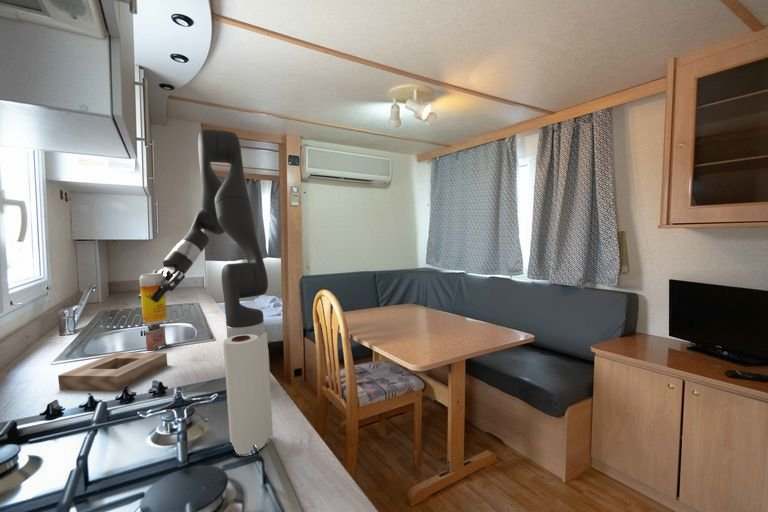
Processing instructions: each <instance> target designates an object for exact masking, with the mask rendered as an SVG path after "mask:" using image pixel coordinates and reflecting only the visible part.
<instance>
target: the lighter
mask: <svg viewBox="0 0 768 512" xmlns="http://www.w3.org/2000/svg"><path fill="white" fill-rule="evenodd" d="M163 323H164V322H163ZM163 323H159V324H152V325H147V329H145V330H144V334H145V345H146V349H145V351H153V350H156V349H158V348H159V347H158V346H163V345H167V341H166V325H162V324H163ZM158 350H159V349H158ZM156 351H157V350H156ZM153 352H154V351H153Z"/></svg>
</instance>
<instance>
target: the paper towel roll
mask: <svg viewBox="0 0 768 512" xmlns="http://www.w3.org/2000/svg"><path fill="white" fill-rule="evenodd" d="M222 342H223V343H222V345H223V356H224V369H225V370H224V371H225V386H226V401H227V416H228V431H229V432H228V433H229V443H230V442H231V443H232V445H233V447H234V450H235V452H236V453H237V454H239V455H240V454H241V455H242V454H243V455H244V454H247V453H250V452H251V450H252V447H253V445H254V444H255V445H256V446H257V447H260V446H261V445H262V444H263V443H264V442H265V441H266V440H267V439H268V438H269V439H271V437H272V436H274V433H273V432H274V431H273V429H274V428H273V414H272V397H271V395H272V394H271V376H270V377H269V367H270V360H269V361H268V350H269V347H268V332H264V334H262V335H261V336H260V337H259V338H258V336H257V335H252V334H244V335H237V336H233V337H230V338H227V337H226V339H224V340H223V341H222Z"/></svg>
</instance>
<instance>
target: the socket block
mask: <svg viewBox="0 0 768 512" xmlns="http://www.w3.org/2000/svg"><path fill="white" fill-rule="evenodd" d="M167 366H168V356H167V352H114V353H111V354H108V355H106V356H104V357H101V358H99V359H96V360H94V361H91V362H89V363H87V364H84V365H81V366H78V367H76V368H74V369H71V370H68V371H67V372H63V373H61V374H58V375H57V377H58V379H57V381H58V388H59V389H66V390H65V391H69V390H70V391H106V392H107V391H109V392H110V391H112V392H118V391H119V392H120V391H121V390H123V389H125V388H124V386H126V385H127V387H129V386H131V385H133V384H134V383H137V382H138V381H140V380H142V379H145V378H146V377H148V376H150V375H152V374H154V373H155V372H157V371H159V370H161V369H164V368H165V367H167Z"/></svg>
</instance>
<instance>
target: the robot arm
mask: <svg viewBox="0 0 768 512" xmlns="http://www.w3.org/2000/svg"><path fill="white" fill-rule="evenodd" d="M197 143H198V144H197V148H198V159H199V160H198V162H199V170H200V171H199V172H200V180H201V181H200V182H201V204H200V205H201V208H202V209H200V210H199V211H198V212H196V214H195V217H194V219H193V222H192V224H191V227H190V229H189V230H188V232H187V233H186V234H185V236H183V238H182V239H181V240H180V241H179V242H178V243H177V244H176V245H175V246H174V247H173V248H172V249H171V251H170V252H169V253H168V254H167V256H165V258H164V259H163V260H162V265H163V267H162V268H161V269H160V270H159V271H157V270H156V269H154V270H153V271H152V272H151V273H162V275H163V279H162V284H161V285H160V288H158V290H157V291H156V292H155V293H154V294H153V296H152V297H151V300H153V301H154V302H158V301H159V300H160V299H161V298H162V296H163V295H164V294H165V295H166V293H169V291H170V292H172V291H174V290H175V289H176V288H177V286H179V284H180V283H181V282H182V281H183V280H184V279H185V277H186V274H187V272H189V269H190V268H191V267H193V265H194V263H195V262H196V261H197V260H198V258H199V256H200V254H202V252H203V251H204V250H205V248H206V247H207V245H208V244H209V243H210V237H209V236H208V235H207V234H206V233H205V232H204V231H202V230H205V231H207V232H209V233H212V234H213V235H216V236H218V235H219V236H220V235H222V234H225V233H226V234H227V235H228V236H229V237H230V238H231V239H232V240H233V242H235V243H236V244H237V245H238V246H239V248H240V249H241V251H242V252H243V254H244V256H245V258H246V260H247V261H246V262H239V263H238V262H236V263H235V262H234V263H227V264H224V266H223V268H222V270H221V286H222V287H221V288H222V294H223V301H224V311H225V313H224V314H225V323H226V325H225V326H226V339H227V338H230V337H233V336H237V335H244V334H252V335H257V336H258V338H259V337H260V336H261V335H262V334H264V333H265V323H264V322H265V321H264V320H265V319H264V318H265V317H264V312H263V311H262V310H261V309H258V308H253V307H249V306H246V305H243V304H241V302H240V299H245V298H253V297H260V296H263V295H265V294H266V293H267V291H268V287H269V279H268V273H267V269H266V265H265V262H264V259H263V254H262V252H261V249H260V246H259V242H258V237H257V232H256V228H255V221H254V215H253V210H252V204H251V200H250V196H249V192H248V187H247V183H246V178H245V174H244V165H243V164H244V163H243V154H242V149H241V143H240V139H239V137H238V135H237V134H236V133H235V132H234V131H228V130H220V129H210V128H207V129H206V128H205V129H201V130H200V131H199V134H198V139H197ZM212 163H217V164H218V163H221V164H229V166H230V169H229V172H228V174H227V175H226V178H225V179H224V181H223V183H222V181H221V180H220V178H219V177H218V175H216V173H215V172H214V169H213V168H212ZM137 298H138V299H139V300H141V293H139V294H138V296H137ZM269 353H270V352H269V349H268V361H269V362H270V354H269ZM269 377H270V378H271V371H270V366H269Z"/></svg>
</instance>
